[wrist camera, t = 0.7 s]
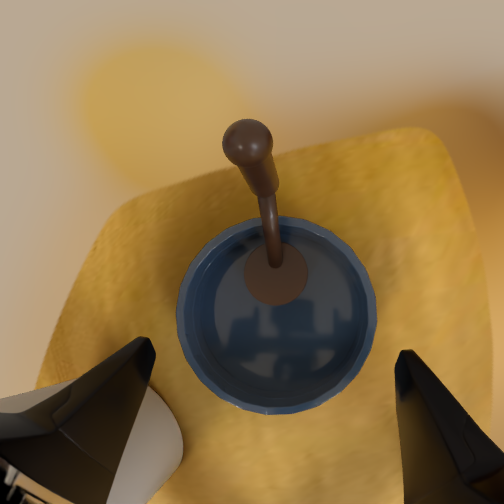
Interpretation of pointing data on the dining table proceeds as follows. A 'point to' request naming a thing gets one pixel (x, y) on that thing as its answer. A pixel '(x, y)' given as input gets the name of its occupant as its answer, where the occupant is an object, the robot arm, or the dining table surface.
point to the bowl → (276, 321)
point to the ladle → (265, 217)
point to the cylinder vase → (130, 445)
